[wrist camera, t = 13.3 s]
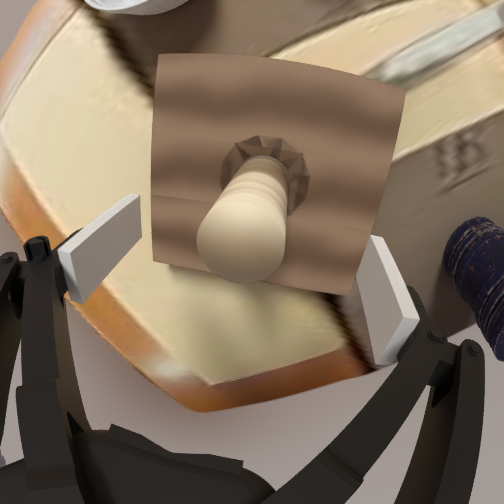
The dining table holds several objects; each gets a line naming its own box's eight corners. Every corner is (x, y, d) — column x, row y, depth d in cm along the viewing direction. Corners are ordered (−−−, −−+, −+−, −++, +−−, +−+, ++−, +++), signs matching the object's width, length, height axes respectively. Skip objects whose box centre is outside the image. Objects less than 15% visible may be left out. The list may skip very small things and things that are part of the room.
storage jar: (472, 290, 33) (516, 367, 20) (429, 267, 32) (476, 355, 19) (509, 234, 28) (570, 300, 15) (469, 202, 27) (543, 270, 14)
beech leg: (245, 144, 28) (196, 195, 14) (293, 151, 28) (295, 212, 14) (239, 188, 30) (193, 276, 17) (285, 196, 30) (277, 291, 16)
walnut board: (174, 58, 24) (158, 54, 21) (392, 90, 23) (406, 90, 20) (166, 244, 35) (153, 261, 32) (343, 275, 34) (348, 296, 31)
